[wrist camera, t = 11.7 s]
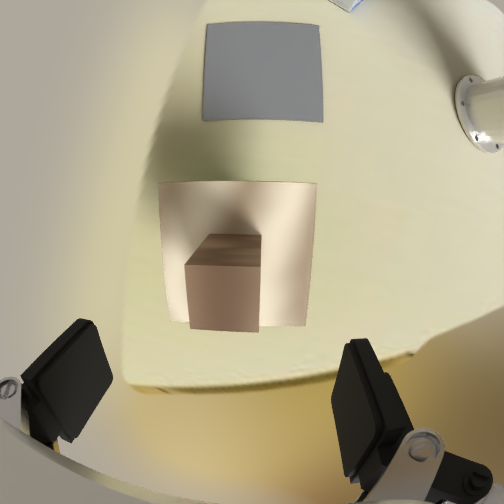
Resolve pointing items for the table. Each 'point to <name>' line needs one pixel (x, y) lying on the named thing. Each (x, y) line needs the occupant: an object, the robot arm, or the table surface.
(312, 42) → the mat
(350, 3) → the medicine box
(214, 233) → the lid
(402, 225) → the table surface
